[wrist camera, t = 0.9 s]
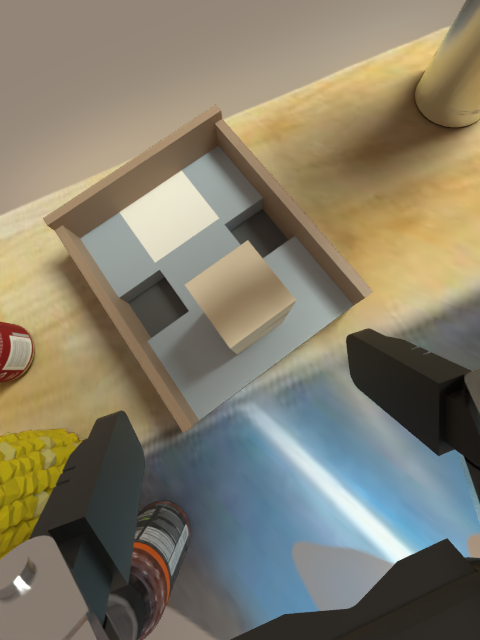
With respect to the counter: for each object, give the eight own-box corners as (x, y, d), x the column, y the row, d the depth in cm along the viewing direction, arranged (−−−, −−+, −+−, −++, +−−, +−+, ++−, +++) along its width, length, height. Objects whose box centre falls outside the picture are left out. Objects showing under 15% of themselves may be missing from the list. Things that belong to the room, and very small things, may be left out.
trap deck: (82, 246, 35) (42, 218, 28) (222, 151, 36) (215, 104, 30) (196, 421, 30) (180, 435, 24) (352, 305, 31) (378, 288, 25)
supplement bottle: (160, 576, 27) (96, 717, 16) (124, 527, 28) (39, 628, 17) (204, 532, 28) (170, 639, 17) (166, 485, 29) (111, 557, 18)
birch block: (205, 310, 30) (184, 284, 21) (250, 278, 30) (247, 240, 21) (237, 355, 28) (230, 348, 20) (283, 321, 29) (296, 300, 20)
